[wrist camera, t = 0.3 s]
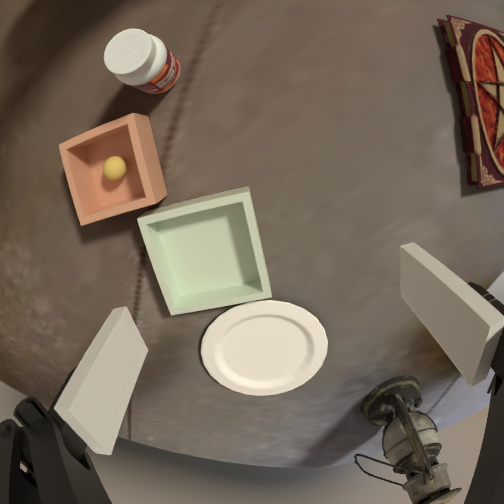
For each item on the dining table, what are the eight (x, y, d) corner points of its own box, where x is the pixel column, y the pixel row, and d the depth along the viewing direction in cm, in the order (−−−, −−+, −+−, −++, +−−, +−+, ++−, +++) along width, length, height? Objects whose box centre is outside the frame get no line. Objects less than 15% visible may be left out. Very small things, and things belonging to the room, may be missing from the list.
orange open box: (80, 142, 35) (58, 144, 29) (148, 115, 34) (133, 112, 29) (99, 214, 39) (81, 226, 33) (167, 194, 38) (156, 203, 33)
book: (526, 175, 38) (543, 180, 33) (462, 185, 38) (482, 192, 34) (504, 39, 28) (521, 36, 23) (431, 18, 28) (449, 10, 24)
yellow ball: (106, 159, 35) (96, 162, 32) (126, 152, 35) (117, 153, 32) (112, 181, 36) (102, 185, 33) (132, 175, 36) (123, 178, 33)
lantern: (420, 404, 57) (466, 498, 29) (350, 436, 59) (378, 539, 31) (416, 359, 50) (483, 474, 22) (331, 398, 53) (366, 530, 25)
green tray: (146, 211, 39) (136, 218, 35) (248, 186, 38) (249, 191, 34) (176, 300, 44) (171, 315, 40) (269, 283, 43) (272, 297, 39)
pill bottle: (175, 96, 33) (148, 81, 23) (132, 93, 33) (92, 79, 22) (186, 53, 31) (164, 24, 21) (142, 51, 31) (108, 25, 20)
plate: (190, 376, 50) (189, 382, 48) (219, 279, 43) (218, 284, 41) (297, 397, 53) (298, 403, 51) (346, 312, 46) (349, 318, 44)
